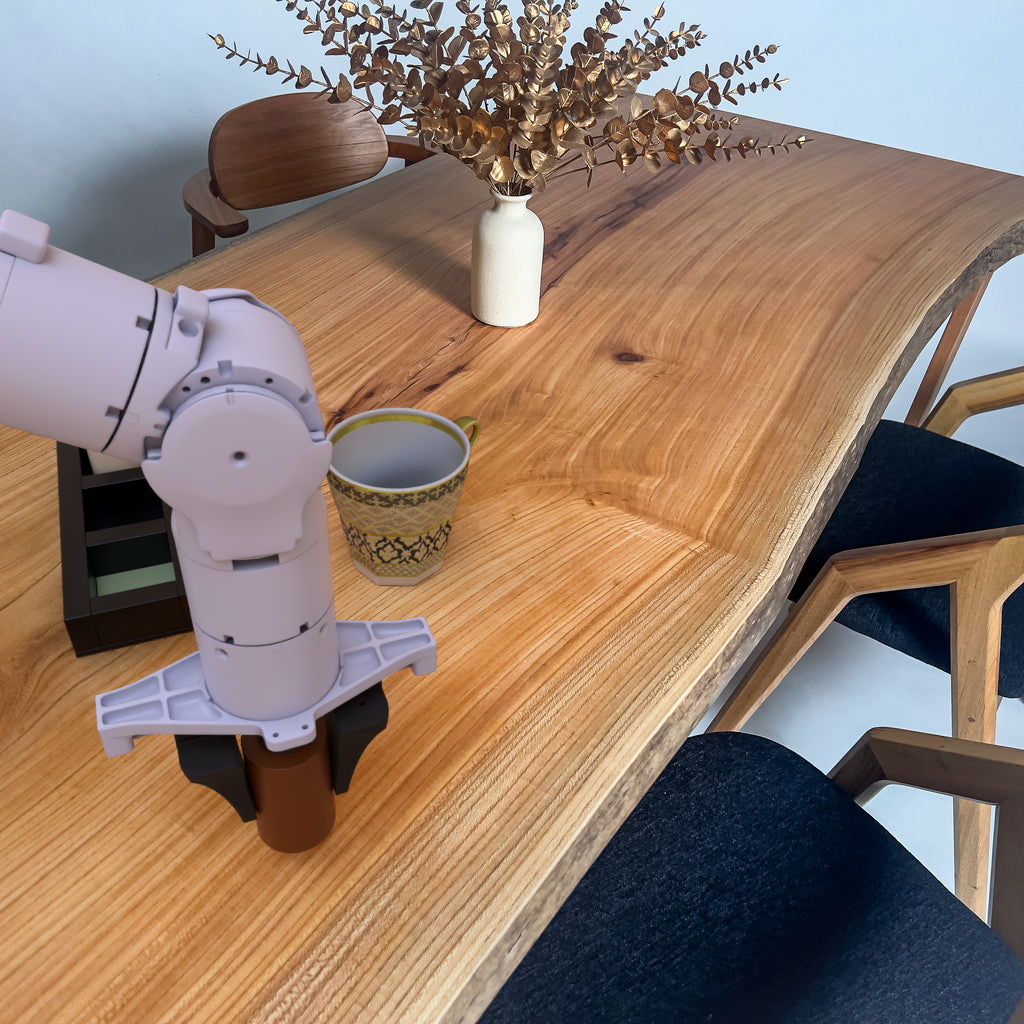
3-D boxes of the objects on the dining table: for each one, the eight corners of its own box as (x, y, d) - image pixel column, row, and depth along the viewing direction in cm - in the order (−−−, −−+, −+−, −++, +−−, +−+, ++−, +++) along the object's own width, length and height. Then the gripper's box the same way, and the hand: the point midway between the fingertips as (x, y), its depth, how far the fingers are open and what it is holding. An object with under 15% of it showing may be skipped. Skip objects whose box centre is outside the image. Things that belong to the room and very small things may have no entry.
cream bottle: (94, 500, 70) (65, 399, 64) (99, 469, 73) (72, 371, 67) (149, 494, 71) (125, 395, 65) (152, 465, 74) (129, 367, 68)
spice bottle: (258, 860, 45) (235, 749, 39) (255, 792, 48) (234, 680, 42) (339, 845, 46) (328, 734, 40) (332, 779, 49) (320, 667, 43)
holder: (76, 658, 58) (63, 620, 56) (66, 466, 74) (55, 431, 71) (212, 627, 61) (204, 590, 59) (174, 448, 76) (167, 414, 74)
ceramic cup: (393, 625, 62) (389, 511, 56) (303, 555, 67) (290, 443, 61) (521, 541, 70) (530, 432, 63) (431, 483, 75) (432, 377, 68)
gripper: (74, 717, 32) (147, 912, 40) (462, 621, 37) (454, 813, 45) (67, 586, 37) (133, 784, 45) (410, 516, 42) (412, 707, 50)
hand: (292, 791), depth 45 cm, fingers closed on spice bottle, 4 cm apart
